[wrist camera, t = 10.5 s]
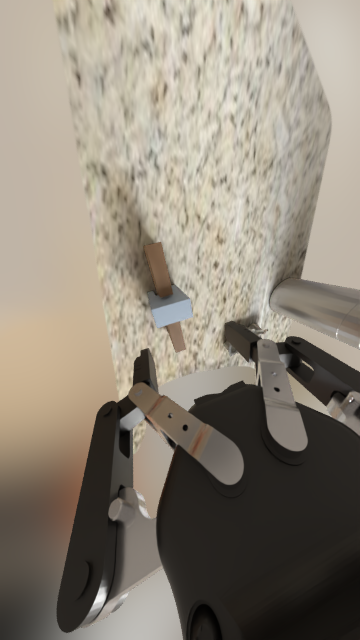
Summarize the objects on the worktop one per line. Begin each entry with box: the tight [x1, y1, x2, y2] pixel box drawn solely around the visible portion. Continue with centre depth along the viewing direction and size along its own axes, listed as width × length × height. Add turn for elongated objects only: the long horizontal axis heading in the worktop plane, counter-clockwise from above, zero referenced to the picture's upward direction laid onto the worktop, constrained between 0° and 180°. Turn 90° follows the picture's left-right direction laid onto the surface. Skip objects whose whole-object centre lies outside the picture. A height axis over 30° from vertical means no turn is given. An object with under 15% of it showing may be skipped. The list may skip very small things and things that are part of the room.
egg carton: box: [224, 323, 268, 356], centre depth 37 cm, size 11×8×4 cm
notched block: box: [147, 285, 193, 328], centre depth 23 cm, size 6×3×9 cm, turn 102°
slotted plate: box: [143, 242, 186, 353], centre depth 24 cm, size 2×18×7 cm, turn 12°
